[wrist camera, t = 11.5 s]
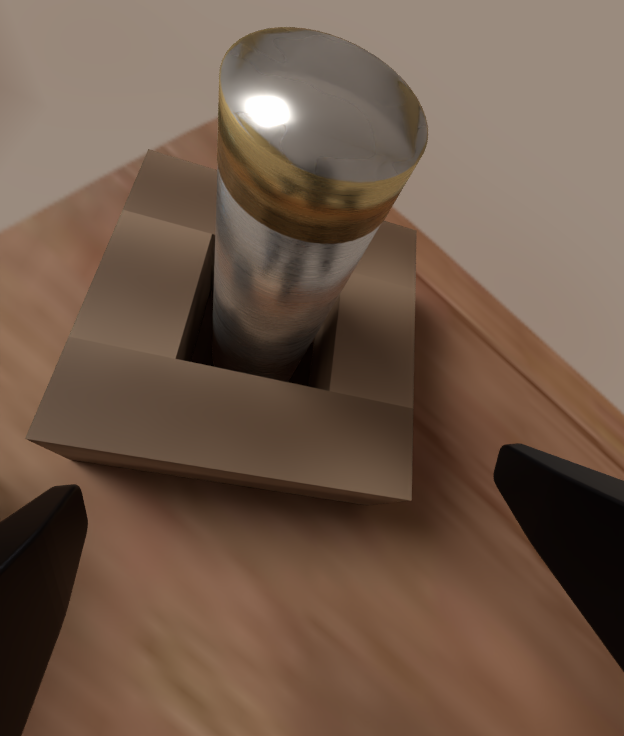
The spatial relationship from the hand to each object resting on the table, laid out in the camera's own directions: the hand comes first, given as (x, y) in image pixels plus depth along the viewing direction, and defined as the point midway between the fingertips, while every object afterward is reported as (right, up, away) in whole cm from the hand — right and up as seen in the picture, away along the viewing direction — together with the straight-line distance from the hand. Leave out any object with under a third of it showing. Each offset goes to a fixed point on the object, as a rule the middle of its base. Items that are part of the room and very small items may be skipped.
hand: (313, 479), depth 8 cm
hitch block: (-3, +3, +10) cm, 11 cm away
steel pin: (-3, +3, +10) cm, 11 cm away
